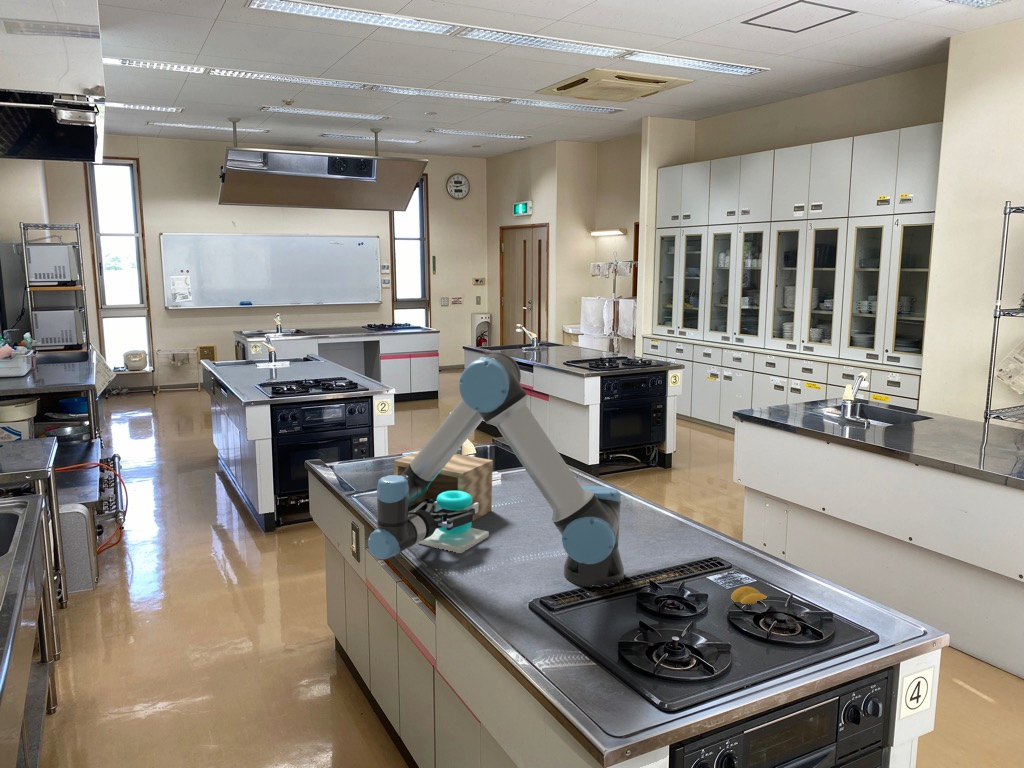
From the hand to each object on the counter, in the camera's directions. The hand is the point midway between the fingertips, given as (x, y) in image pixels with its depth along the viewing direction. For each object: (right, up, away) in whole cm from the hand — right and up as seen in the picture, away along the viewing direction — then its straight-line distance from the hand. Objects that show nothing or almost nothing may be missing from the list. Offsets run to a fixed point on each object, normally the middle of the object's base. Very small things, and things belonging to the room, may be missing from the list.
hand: (462, 503), depth 212 cm
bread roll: (+70, -18, -37) cm, 82 cm away
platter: (-2, -10, -2) cm, 10 cm away
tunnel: (-8, -6, +21) cm, 23 cm away
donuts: (-2, -7, -3) cm, 8 cm away
